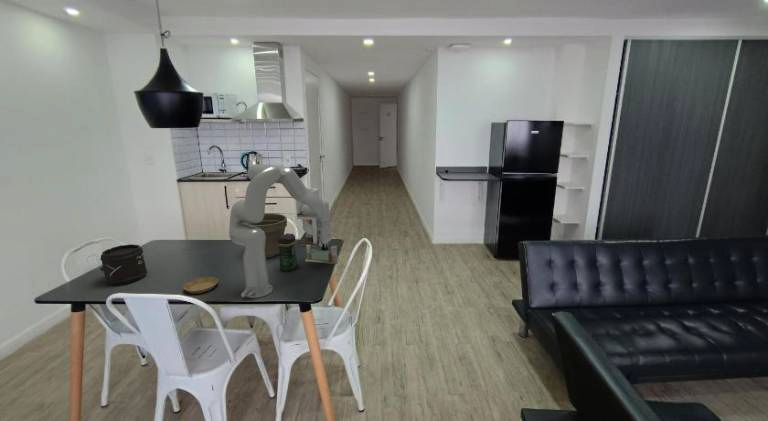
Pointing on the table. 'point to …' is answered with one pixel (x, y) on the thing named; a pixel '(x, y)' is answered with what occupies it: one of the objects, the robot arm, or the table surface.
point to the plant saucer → (200, 285)
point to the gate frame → (331, 257)
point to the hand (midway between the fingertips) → (324, 253)
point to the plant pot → (272, 231)
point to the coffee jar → (287, 252)
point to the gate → (320, 254)
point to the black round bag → (123, 264)
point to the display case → (308, 224)
